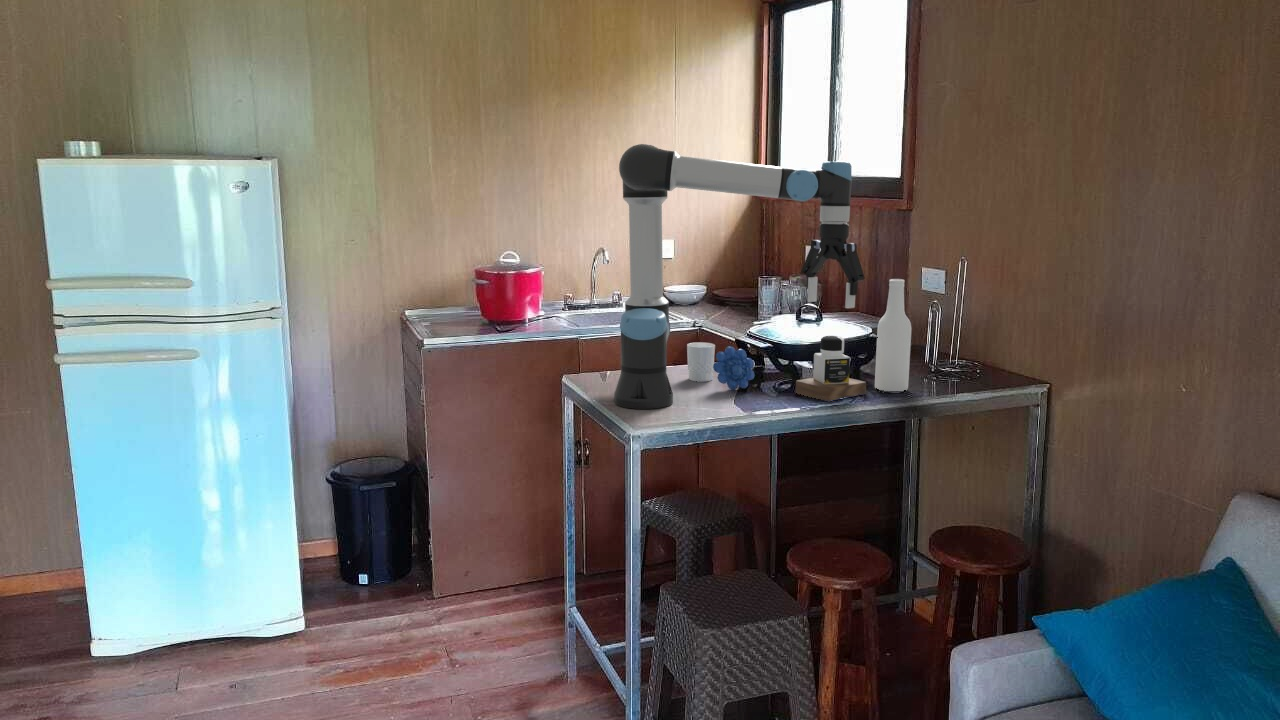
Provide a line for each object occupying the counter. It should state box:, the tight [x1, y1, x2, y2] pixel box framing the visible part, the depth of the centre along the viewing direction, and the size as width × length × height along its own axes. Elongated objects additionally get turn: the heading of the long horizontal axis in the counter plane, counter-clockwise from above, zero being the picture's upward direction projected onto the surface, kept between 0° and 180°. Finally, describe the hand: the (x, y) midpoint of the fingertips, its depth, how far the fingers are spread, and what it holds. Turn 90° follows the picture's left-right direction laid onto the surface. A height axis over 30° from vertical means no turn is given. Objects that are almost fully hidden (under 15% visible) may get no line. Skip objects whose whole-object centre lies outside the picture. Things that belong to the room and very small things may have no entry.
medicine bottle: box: [812, 335, 851, 385], centre depth 251 cm, size 7×7×12 cm
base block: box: [795, 377, 867, 401], centre depth 252 cm, size 14×12×4 cm
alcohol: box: [874, 278, 913, 391], centre depth 255 cm, size 9×9×30 cm
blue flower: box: [713, 345, 756, 390], centre depth 256 cm, size 12×7×12 cm, turn 102°
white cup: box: [686, 341, 716, 383], centre depth 270 cm, size 8×8×10 cm
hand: (830, 304), depth 249 cm, fingers open, 13 cm apart
